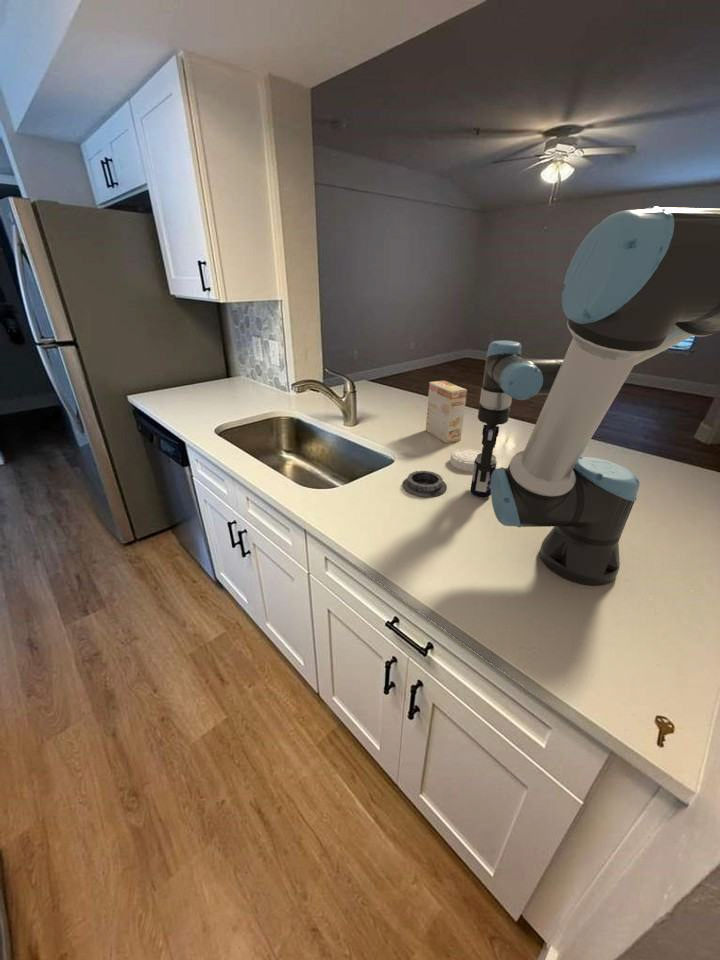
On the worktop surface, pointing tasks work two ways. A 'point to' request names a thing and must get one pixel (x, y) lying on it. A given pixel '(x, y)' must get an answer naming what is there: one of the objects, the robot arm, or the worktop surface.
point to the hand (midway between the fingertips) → (482, 479)
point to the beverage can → (475, 474)
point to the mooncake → (464, 459)
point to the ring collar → (424, 484)
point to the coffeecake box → (445, 410)
